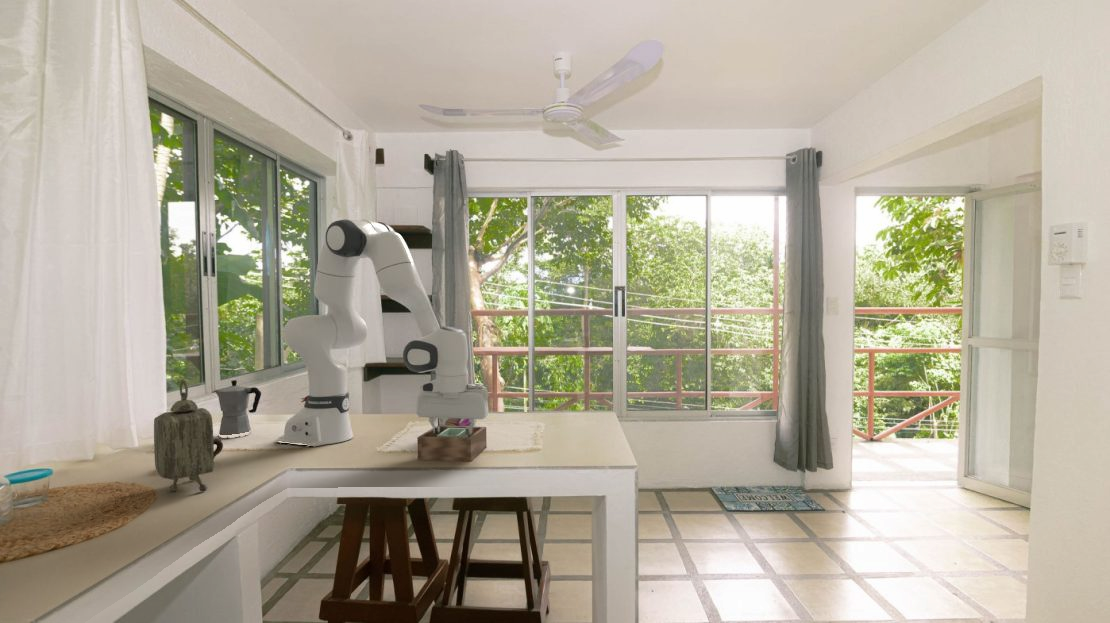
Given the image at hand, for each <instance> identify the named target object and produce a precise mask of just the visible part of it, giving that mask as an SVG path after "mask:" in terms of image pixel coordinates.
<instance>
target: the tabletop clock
mask: <svg viewBox="0 0 1110 623" xmlns="http://www.w3.org/2000/svg"><path fill="white" fill-rule="evenodd" d="M183 385H184V390H185V392H183ZM188 389H189V388H188V383H187V381H186V380H184V379H182V380H180V381H179V395H180V400H178V401H176V402H174V403H173V404H172V406H171V408H170V411H166V412H163V413H161V414H159V415H158V416H156V417H155V418H154V419H153V442H154V443H153V444H154V445H153V446H154V447H153V448H154V451H153V452H154V467H155V470H156V471H157V473H158V476H160V477H161V478H163V479H166V480H171V481H173V484H170V486H169V487H168V490H169V491H170V492H176V491H177V490H179V489H178V488H179V486H178V484H177V483H178V480H179V479H184V478H188V479H189V480H190V481H195V482H196V483H197V484H198V485H199V487H198V490H199V491H200V492H206V491H207V490H208V485H207V484H206V483H203V482H202V480H201V477H200V476H199V475H205V474H210V473H212V472H214V463H215V462H214V460H215V458H214V451H215V449H214V448H215V447H214V445H215V444H214V443H213V439H214V427H213V423H214V422H213V416H212V414H211V412H210V411H208V409H206V408H205V407H199V408H198V405H197V403H196V402H195V401H193V400H191V399H188V396H189V390H188Z"/></svg>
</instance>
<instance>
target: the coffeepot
mask: <svg viewBox="0 0 1110 623" xmlns="http://www.w3.org/2000/svg"><path fill="white" fill-rule="evenodd" d="M230 381H231V386H227V387H223V388H220V389H219V388H218V389H216V390H213V392H214V393H215V394H216V395H217V397H218V403H219V408H220V411H221V412H222V416H221V420H220V427H219V432H218V435H219V434H220V435H232V434H240V433H245V432H249V431H250V430H251V431H252V429H251V425H250V420H249V415H248V414H247V409H248V408H249V401H250V395H251V394H255V396H254V400H253V403H252V408H251V409H248V412H249V413H250V414H253V413H256V412H257V409H258V407H259V403H260V399H261V396H262V392H261V390H260V389H259V388H258V387H247V386H242V385H241V386H240V385H237V383H238V381H237V380H236V379H232V380H230Z"/></svg>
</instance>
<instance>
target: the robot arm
mask: <svg viewBox="0 0 1110 623" xmlns="http://www.w3.org/2000/svg"><path fill="white" fill-rule="evenodd" d="M324 239H325V240H324V241H323V244H322V247H321V250H320V252H319V257H318V261H317V266H316V273H315V279H314V287H313V293H314V294H313V295H314V296H315V298H316V299H317V300H318V301H319V302H321V303H322V304H324V305H325V306H327V313H326V314H310V315H308V314H306V315H302V316H301V315H300V316H297V317H292V318H290V319H289V320H288V321H287V322H286V324H285V326H284V328H283V333H282V335H283V340H284V342H285V344H286V346H287V347H288V348H289V349H291V351H294V352H295V353H296V354H297V355H298V356H299V357H300V358H301V360H302V361H303V363H304V365H305V368H306V370H307V378H308V395H306V396H305V397H302V398H301V400H300V403H304V404H303V406H304V407H302V408H301V409H299V411H297V412H296V413H295V414H294V415H292V416H291V417H290V418H289V419H287V421H286V423H285V425H284V432H283V435H280V436H278V437H277V438H276V439H275V442H276V441H282V442H289V443H302V444H307V445H310V446H313V447H319V446H324V445H330V444H337V443H341V442H346V441H348V440H351V439H353V438H354V437H355V436H354V433H353V429H352V426H351V425H352V424H351V420H350V415H349V414H350V412H349V409H350V393H349V391H348V370H347V368H346V367H345V366H344V364H342V363H341V362H339V361H337V360H334V359H333V357H332V354H331V350H340V349H343V350H344V349H349V348H353V347H357V346H360V345H362V344H363V343H364V342H365V341H366V340H367V336H368V330H369V329H368V326H367V323H366V321H365V320H364V319H363V317H361V316H360V314H358V312H357V310H356V308H355V305H354V290H355V289H354V288H355V281H356V274H357V267H358V262H359V261H360V259H366V258H369V259H370V261H371V263H372V264H373V267H374V271H375V274H376V277H377V281H378V284H379V286H380V288H381V290H382V291H383V293H384V294H385V296H387V298H389V299H391V300H393V301H395V302H397V303H398V304H401V305H402V306H404V307H405V308H406V309H408V310H409V311H410V312H411V314H412V316H413V318H414V320H415V323H416V325H417V327H418V329H419V333H420V335H421V337H418V338H416V339H413V340H411V341H409V342H408V343H407V344H406V345H405V346H404V348H403V351H402V360H403V363H404V365H405V366H406V368H407V369H408V370H409V371H411V372H414V373H419V374H422V373H427V372H431V371H435V377H436V378H433V379H430V380H428V381H425V382H423V383H421V384H419V386H418V387H419V388H418V389H419V392H420V393H419V394H418V395H417V398H416V399H417V400H416V407H415V408H416V415H417V416H418V417H419V418H428V422H429V424H430V425H431V427H432V428H433V433H440V426H438V422H437V420H438V418H462V419H469V423H471V424H470V426H469V427H467V428H465V431H466V432H465V434H466V435H471V434H472V427H473V426H474V424H475V422H476V423H477V420H484V419H486V417H487V416H488V415H489V404H488V403H489V402H488V400H489V389H487V387H485V386H484V385H481V384H479V385H477V384H472V385H468V384H469V371H468V361H469V360H468V359H469V349H468V347H469V346H468V338H467V334H466V332H465V331H464V330H463V329H461V328H459V327H455V326H448V325H447V326H442V325H441V322H440V319H439V318H438V315H437V313H436V311H435V309H434V306H433V304H432V301H431V299H430V296H429V295H428V293H427V291H426V289H425V286H423V282H422V281H421V278H420V276H419V272H418V270H417V266H416V264H415V262H414V258H413V256H412V253H411V251H410V249H409V247H408V244H407V242H406V241H405V239H404V238H403V236H402V235H401V234H400V233H398V232H397V231H395V230H394V228H393V227H392V226H391V225H389V224H388V223H387V224H386V223H385V222H381V221H374V220H369V219H352V220H351V219H350V220H349V219H339V220H335V221H332V222H331V223H330V224H329V225H328V226H327V229H326V231H325V238H324Z"/></svg>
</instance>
